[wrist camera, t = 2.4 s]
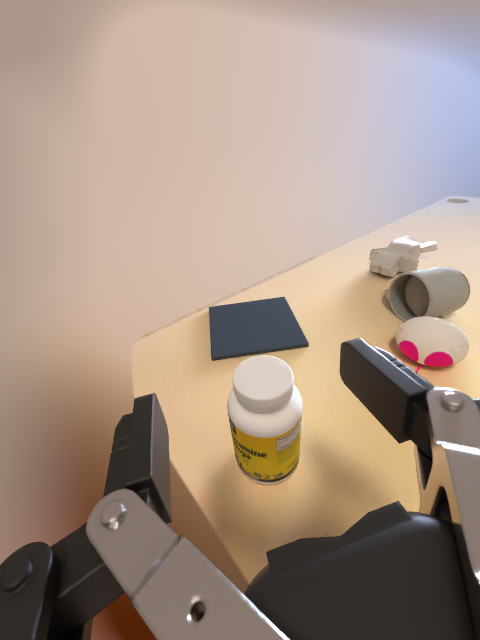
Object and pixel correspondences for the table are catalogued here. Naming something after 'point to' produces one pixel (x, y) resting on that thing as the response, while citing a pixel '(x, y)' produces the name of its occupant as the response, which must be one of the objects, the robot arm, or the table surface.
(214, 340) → the mat
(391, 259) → the bunny figurine
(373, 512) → the robot arm
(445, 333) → the stress ball
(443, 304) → the ceramic mug
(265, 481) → the pill bottle
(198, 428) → the table surface
